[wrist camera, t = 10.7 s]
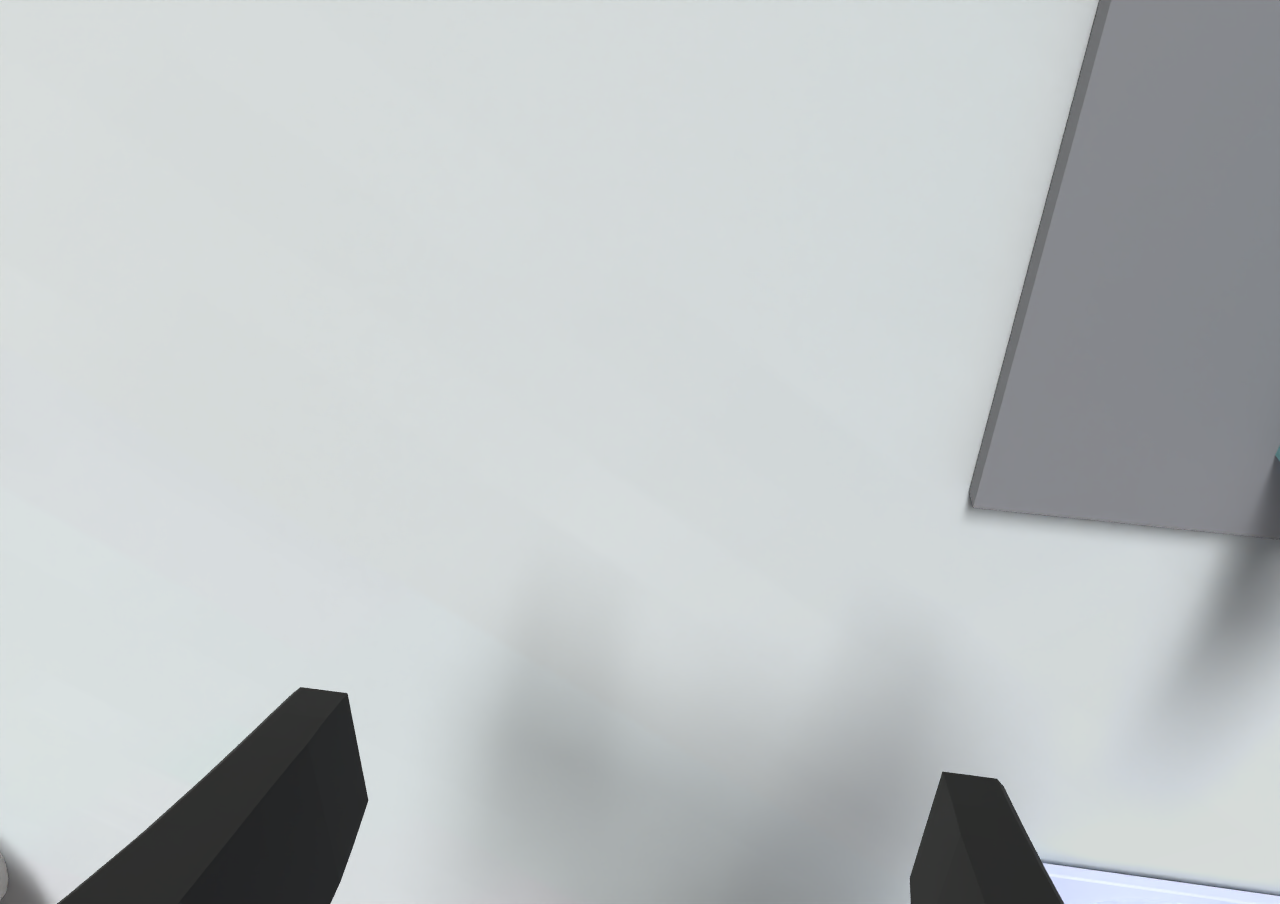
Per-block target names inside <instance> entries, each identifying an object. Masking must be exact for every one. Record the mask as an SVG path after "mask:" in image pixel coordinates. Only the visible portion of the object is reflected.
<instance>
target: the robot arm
mask: <svg viewBox="0 0 1280 904" xmlns="http://www.w3.org/2000/svg"><path fill="white" fill-rule="evenodd" d="M367 803H368V797H367V791H366V786H365V781H364V776H363V771H362V766H361V761H360V756H359V750H358V745H357V740H356V735H355V730H354V725H353V720H352V714H351V709H350V704H349V699H348V694H347V693H341V692H333V691H326V690H318V689H310V688H303V687H300V688H299V689H298V690H296V691H295V692H294V693H293V694H292V695H291V696H289V697H288V698H287V699H286V700H285V701H284V702H283V703H282V704H281V705H280V706H279V707H278V708H277V709H276V710H275V711H274V712H273V713H271V714H270V715H269V716H268V717H267V718H266V719H265V720H264V721H263V722H262V723H261V724H260V725H259V726H258V727H257V728H256V729H255V730H254V731H253V732H252V733H251V734H249V735H248V736H247V737H246V738H245V739H244V740H243V741H242V742H241V743H240V744H239V745H238V746H237V747H236V748H235V749H234V750H233V751H232V752H230V753H229V754H228V755H227V756H226V757H225V758H224V759H223V760H222V761H221V762H220V763H219V764H218V765H217V766H216V767H214V768H213V769H212V770H211V771H210V772H209V773H208V774H207V775H206V776H205V777H204V778H203V779H202V780H201V781H199V782H198V783H197V784H196V785H195V786H194V787H193V788H192V789H191V790H189V791H188V792H187V793H186V794H185V795H184V796H183V797H182V798H181V799H179V800H178V801H177V802H176V803H175V804H174V805H173V806H172V807H171V808H169V809H168V810H167V811H166V812H165V813H164V814H163V815H162V816H161V817H159V818H158V819H157V820H156V821H155V822H154V823H153V824H152V825H151V826H149V827H148V828H147V829H146V830H145V831H144V832H143V833H141V834H140V835H139V836H138V837H137V838H136V839H135V840H133V841H132V842H131V843H130V844H129V845H127V846H126V847H125V848H124V849H123V850H121V851H120V852H119V853H118V854H117V855H115V856H114V857H113V858H112V859H111V860H109V861H108V862H107V863H106V864H105V865H103V866H102V867H101V868H100V869H99V870H97V871H96V872H95V873H94V874H93V875H91V876H90V877H89V878H88V879H87V880H85V881H84V882H83V883H82V884H81V885H80V886H78V887H77V888H76V889H75V890H74V891H72V892H71V893H70V894H69V895H67V896H66V897H65V898H64V899H62V900H61V901H60V902H59V903H57V904H330V903H331V901H332V899H333V897H334V895H335V892H336V890H337V888H338V886H339V884H340V881H341V879H342V876H343V873H344V870H345V867H346V865H347V862H348V859H349V856H350V853H351V851H352V848H353V845H354V842H355V839H356V836H357V833H358V830H359V827H360V824H361V821H362V818H363V815H364V812H365V809H366V806H367ZM910 894H911V904H1280V896H1275V895H1268V894H1261V893H1254V892H1247V891H1240V890H1232V889H1225V888H1218V887H1211V886H1204V885H1197V884H1190V883H1182V882H1175V881H1168V880H1161V879H1154V878H1147V877H1139V876H1132V875H1125V874H1118V873H1111V872H1104V871H1097V870H1089V869H1082V868H1075V867H1068V866H1061V865H1054V864H1046V863H1042V861H1041V860H1040V858H1039V856H1038V854H1037V852H1036V850H1035V848H1034V846H1033V844H1032V842H1031V840H1030V838H1029V837H1028V835H1027V833H1026V831H1025V829H1024V827H1023V825H1022V823H1021V821H1020V819H1019V817H1018V815H1017V813H1016V811H1015V809H1014V807H1013V805H1012V803H1011V801H1010V798H1009V796H1008V794H1007V792H1006V790H1005V788H1004V786H1003V785H1002V784H1001V783H1000V782H999V781H998V780H997V779H994V778H987V777H979V776H972V775H964V774H956V773H949V772H942V775H941V778H940V782H939V785H938V788H937V791H936V795H935V798H934V801H933V804H932V808H931V811H930V814H929V817H928V821H927V824H926V827H925V830H924V834H923V837H922V840H921V843H920V847H919V850H918V853H917V856H916V860H915V863H914V866H913V869H912V873H911V876H910Z"/></svg>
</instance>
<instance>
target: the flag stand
mask: <svg viewBox="0 0 1280 904" xmlns="http://www.w3.org/2000/svg"><path fill="white" fill-rule="evenodd" d="M8 880H9V877H8V872H7V867H6V862H5V860H4V858H3V856H2V854H1V852H0V901H1V899H2V898H3V896H4V895H5V893H6V891H7V886H8Z"/></svg>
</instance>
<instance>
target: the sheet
mask: <svg viewBox="0 0 1280 904" xmlns="http://www.w3.org/2000/svg"><path fill="white" fill-rule="evenodd" d="M1275 456H1276V457H1277V458H1278V460H1279V461H1280V446H1279V448H1278V450H1277V452H1276V454H1275Z"/></svg>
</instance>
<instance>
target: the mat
mask: <svg viewBox="0 0 1280 904" xmlns="http://www.w3.org/2000/svg"><path fill="white" fill-rule="evenodd" d="M1279 446H1280V0H1100V1H1099V5H1098V9H1097V13H1096V16H1095V20H1094V24H1093V28H1092V31H1091V35H1090V39H1089V43H1088V46H1087V50H1086V54H1085V58H1084V61H1083V65H1082V69H1081V73H1080V76H1079V80H1078V84H1077V88H1076V91H1075V95H1074V99H1073V103H1072V107H1071V110H1070V114H1069V118H1068V122H1067V125H1066V129H1065V133H1064V137H1063V140H1062V144H1061V148H1060V152H1059V155H1058V159H1057V163H1056V167H1055V170H1054V174H1053V178H1052V182H1051V185H1050V189H1049V193H1048V197H1047V201H1046V204H1045V208H1044V212H1043V216H1042V219H1041V223H1040V227H1039V231H1038V234H1037V238H1036V242H1035V246H1034V249H1033V253H1032V257H1031V261H1030V264H1029V268H1028V272H1027V276H1026V279H1025V283H1024V287H1023V291H1022V295H1021V298H1020V302H1019V306H1018V310H1017V313H1016V317H1015V321H1014V325H1013V328H1012V332H1011V336H1010V340H1009V343H1008V347H1007V351H1006V355H1005V358H1004V362H1003V366H1002V370H1001V373H1000V377H999V381H998V385H997V389H996V392H995V396H994V400H993V404H992V407H991V411H990V415H989V419H988V422H987V426H986V430H985V434H984V437H983V441H982V445H981V449H980V452H979V456H978V460H977V464H976V467H975V471H974V475H973V479H972V483H971V486H970V490H969V494H970V498H971V501H972V505H973V508H981V509H990V510H1000V511H1010V512H1019V513H1029V514H1039V515H1048V516H1058V517H1068V518H1077V519H1087V520H1097V521H1106V522H1116V523H1126V524H1135V525H1145V526H1155V527H1165V528H1174V529H1184V530H1194V531H1203V532H1213V533H1223V534H1232V535H1242V536H1252V537H1261V538H1271V539H1280V461H1279V460H1278V458H1277V457H1276V456H1275V454H1276V452H1277V450H1278V448H1279Z"/></svg>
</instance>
